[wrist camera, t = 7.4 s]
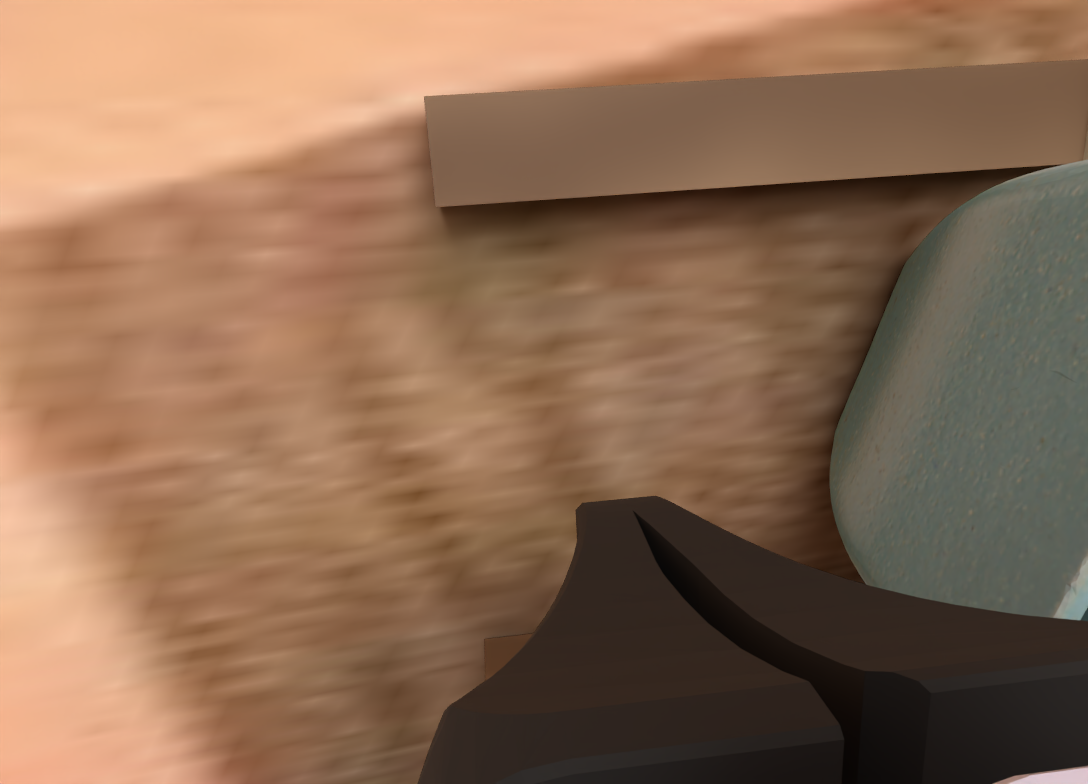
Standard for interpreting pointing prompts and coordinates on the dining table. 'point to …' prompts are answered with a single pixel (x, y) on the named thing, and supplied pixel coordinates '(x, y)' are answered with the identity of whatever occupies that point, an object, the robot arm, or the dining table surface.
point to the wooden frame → (750, 139)
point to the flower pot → (978, 410)
